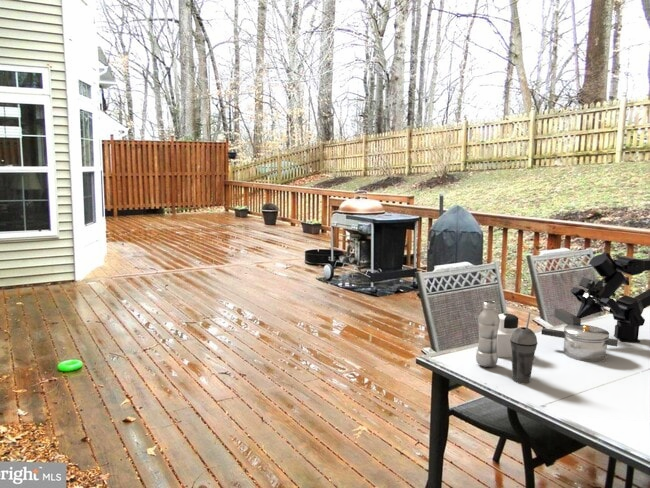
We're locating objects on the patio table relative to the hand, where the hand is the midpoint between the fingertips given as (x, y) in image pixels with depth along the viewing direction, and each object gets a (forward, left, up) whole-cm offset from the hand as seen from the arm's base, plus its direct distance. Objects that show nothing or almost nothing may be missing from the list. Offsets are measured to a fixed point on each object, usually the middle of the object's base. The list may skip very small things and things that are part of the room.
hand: (577, 317), depth 178 cm
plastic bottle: (+35, +27, -9) cm, 45 cm away
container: (+27, +15, -9) cm, 32 cm away
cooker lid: (+2, +6, -2) cm, 7 cm away
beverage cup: (+27, +37, -9) cm, 47 cm away
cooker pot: (+3, +11, -9) cm, 15 cm away
